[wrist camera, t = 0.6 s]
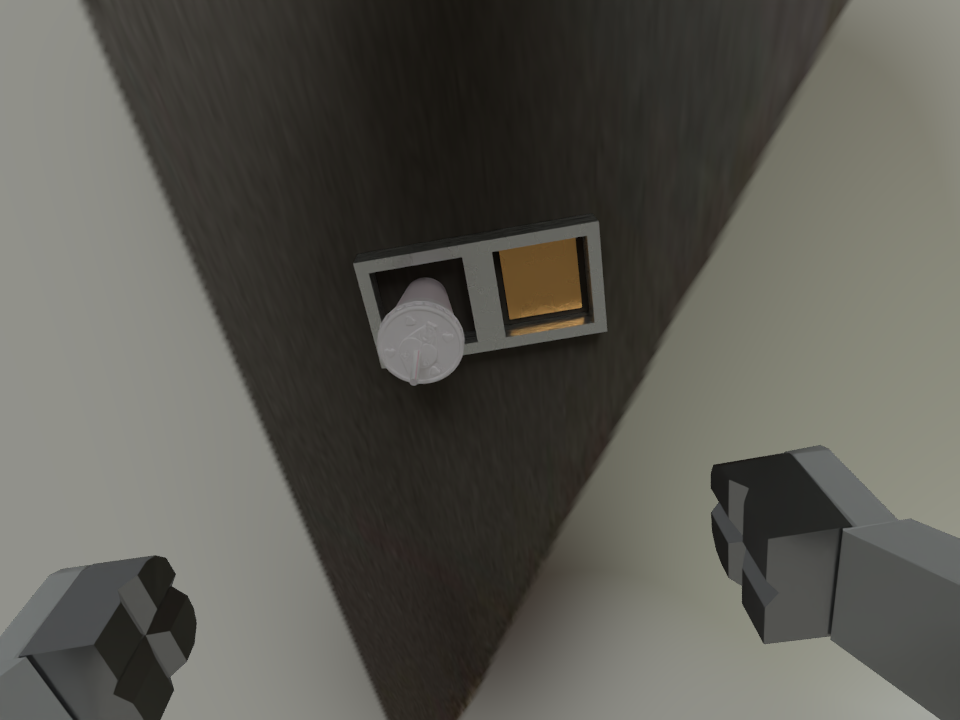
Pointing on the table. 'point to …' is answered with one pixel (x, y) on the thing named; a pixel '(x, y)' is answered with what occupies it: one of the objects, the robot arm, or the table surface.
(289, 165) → the table surface
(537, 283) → the cup holder
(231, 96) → the table surface
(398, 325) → the smoothie
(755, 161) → the table surface
